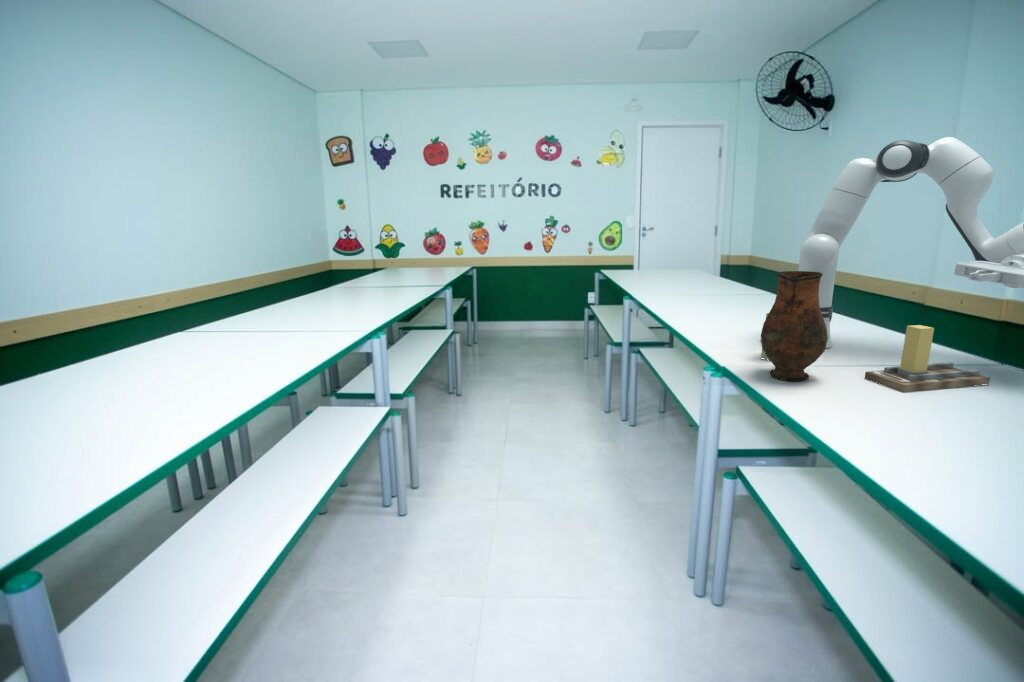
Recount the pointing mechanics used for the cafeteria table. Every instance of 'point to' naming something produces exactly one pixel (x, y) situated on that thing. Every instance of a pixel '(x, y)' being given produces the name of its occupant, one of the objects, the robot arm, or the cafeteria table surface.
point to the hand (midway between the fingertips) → (974, 277)
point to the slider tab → (916, 350)
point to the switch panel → (928, 378)
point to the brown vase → (795, 326)
